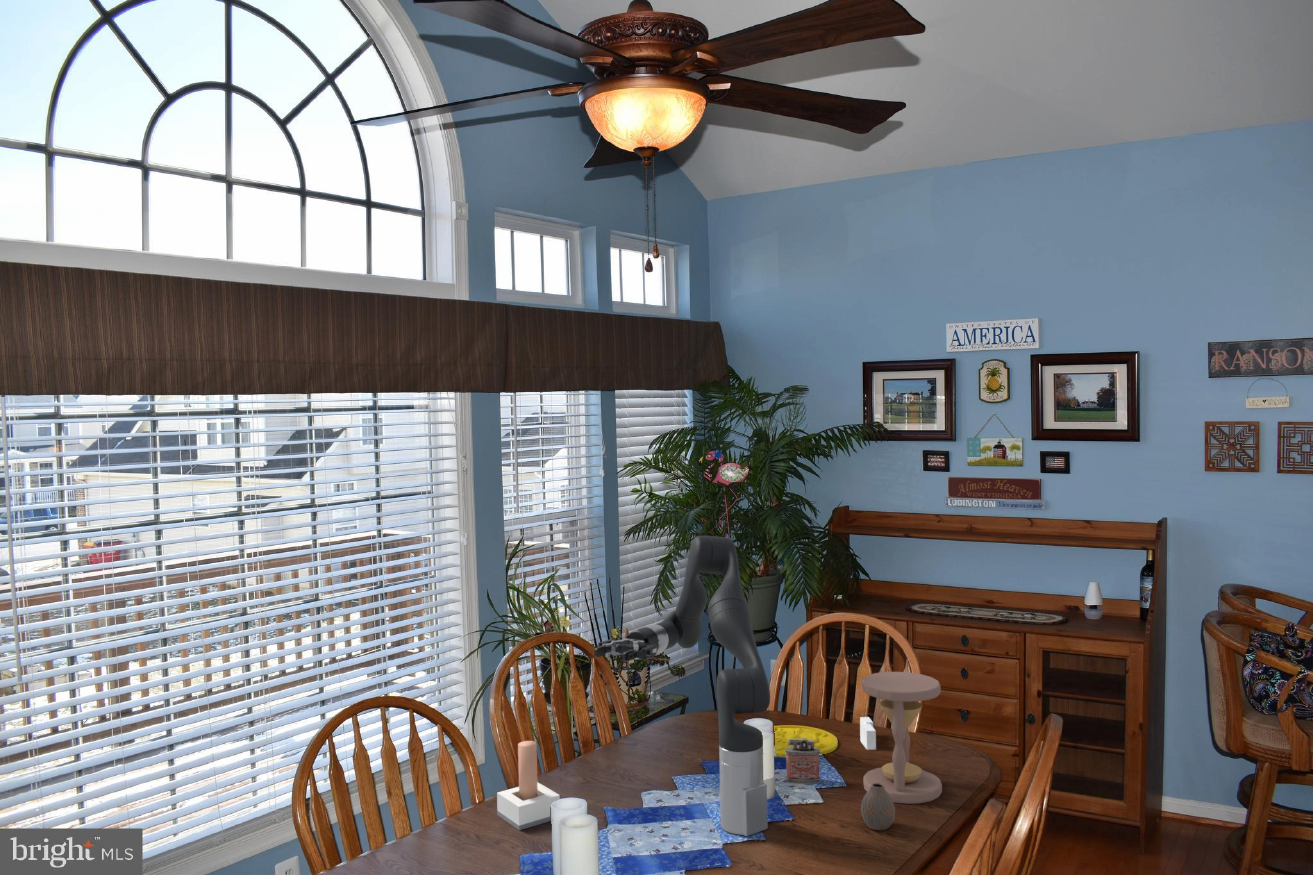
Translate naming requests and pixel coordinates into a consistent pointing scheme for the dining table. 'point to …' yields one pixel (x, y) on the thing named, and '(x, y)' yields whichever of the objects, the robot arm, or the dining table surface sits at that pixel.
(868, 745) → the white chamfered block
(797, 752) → the lighter
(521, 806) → the bore block
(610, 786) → the dining table surface
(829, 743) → the decorative medallion
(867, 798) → the vase
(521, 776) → the peg
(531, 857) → the dining table surface
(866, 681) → the hourglass
